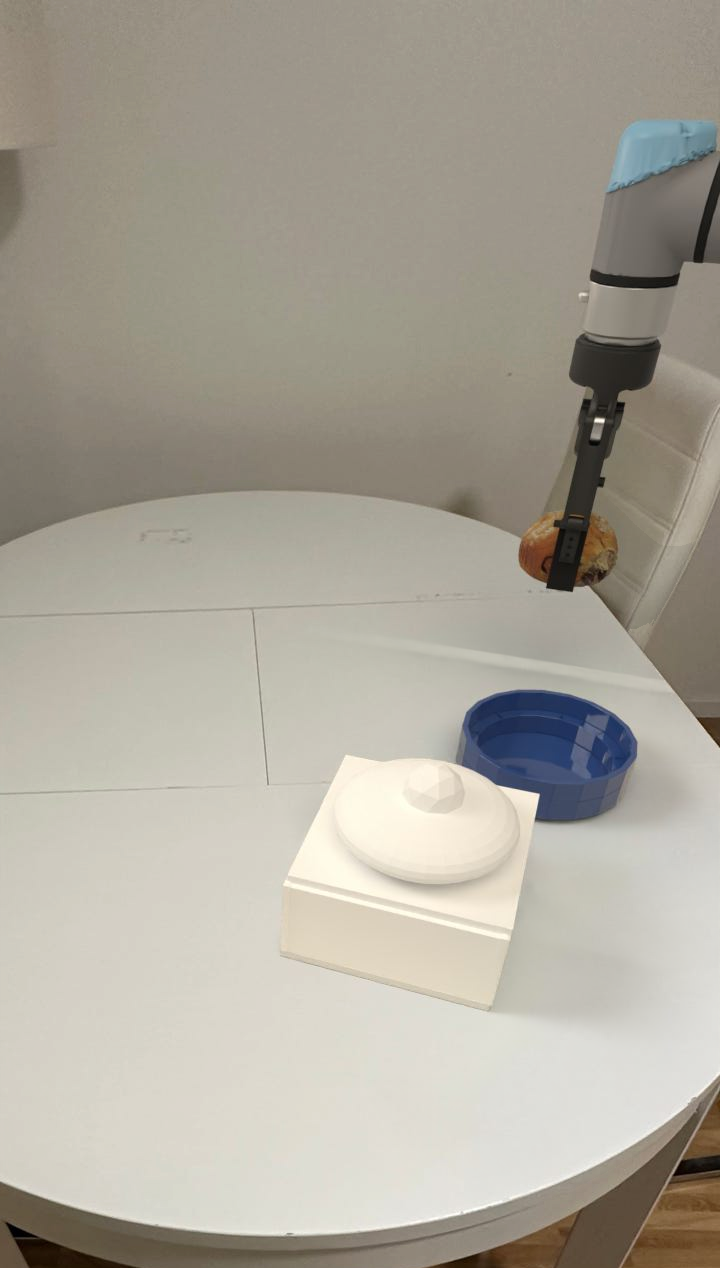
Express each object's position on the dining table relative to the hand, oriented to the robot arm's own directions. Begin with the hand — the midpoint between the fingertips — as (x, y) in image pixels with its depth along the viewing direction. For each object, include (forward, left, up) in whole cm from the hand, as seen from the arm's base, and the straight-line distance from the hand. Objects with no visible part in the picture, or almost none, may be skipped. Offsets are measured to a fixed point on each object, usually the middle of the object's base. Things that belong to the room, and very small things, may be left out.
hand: (564, 567), depth 98 cm
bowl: (-2, +16, -16) cm, 23 cm away
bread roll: (0, 0, 0) cm, 0 cm away
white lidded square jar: (+7, +41, -16) cm, 45 cm away
